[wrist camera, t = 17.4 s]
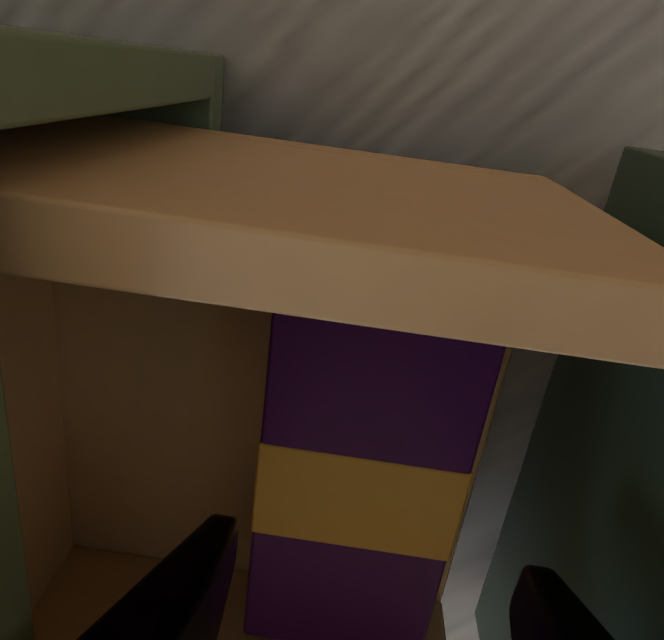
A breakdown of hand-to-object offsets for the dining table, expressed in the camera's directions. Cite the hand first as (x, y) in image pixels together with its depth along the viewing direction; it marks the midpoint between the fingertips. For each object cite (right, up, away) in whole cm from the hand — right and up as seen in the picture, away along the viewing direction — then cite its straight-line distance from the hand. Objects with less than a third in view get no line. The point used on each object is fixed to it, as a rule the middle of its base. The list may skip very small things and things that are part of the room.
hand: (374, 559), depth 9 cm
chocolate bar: (0, +1, +3) cm, 4 cm away
